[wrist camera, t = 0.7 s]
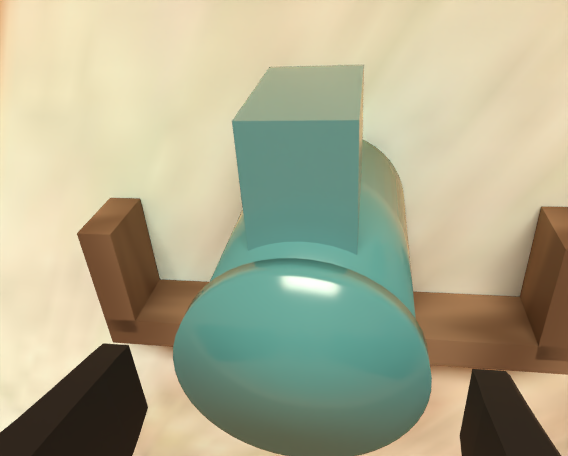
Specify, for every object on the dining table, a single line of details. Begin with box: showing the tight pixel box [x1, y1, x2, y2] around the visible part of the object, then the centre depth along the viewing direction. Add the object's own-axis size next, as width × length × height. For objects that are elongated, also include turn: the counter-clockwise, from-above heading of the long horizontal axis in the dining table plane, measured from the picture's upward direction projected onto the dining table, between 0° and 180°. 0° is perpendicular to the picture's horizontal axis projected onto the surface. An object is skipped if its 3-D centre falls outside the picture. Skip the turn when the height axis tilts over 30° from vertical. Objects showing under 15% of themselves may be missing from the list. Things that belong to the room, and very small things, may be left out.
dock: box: [77, 198, 568, 375], centre depth 18 cm, size 16×5×2 cm, turn 93°
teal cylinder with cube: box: [173, 65, 432, 456], centre depth 14 cm, size 6×8×8 cm
